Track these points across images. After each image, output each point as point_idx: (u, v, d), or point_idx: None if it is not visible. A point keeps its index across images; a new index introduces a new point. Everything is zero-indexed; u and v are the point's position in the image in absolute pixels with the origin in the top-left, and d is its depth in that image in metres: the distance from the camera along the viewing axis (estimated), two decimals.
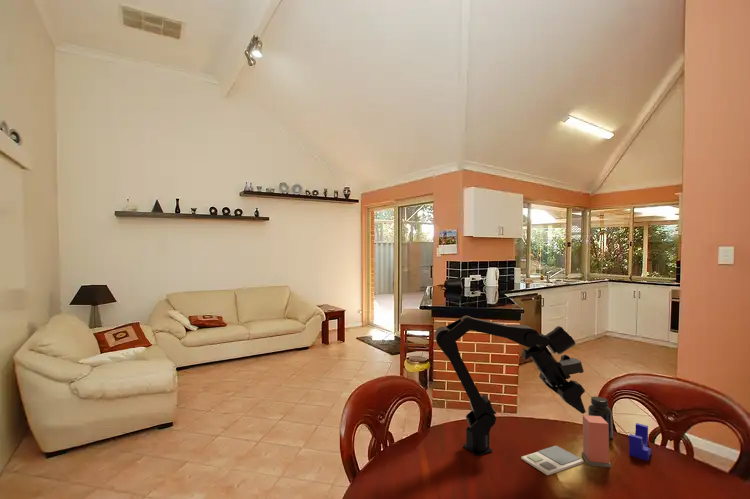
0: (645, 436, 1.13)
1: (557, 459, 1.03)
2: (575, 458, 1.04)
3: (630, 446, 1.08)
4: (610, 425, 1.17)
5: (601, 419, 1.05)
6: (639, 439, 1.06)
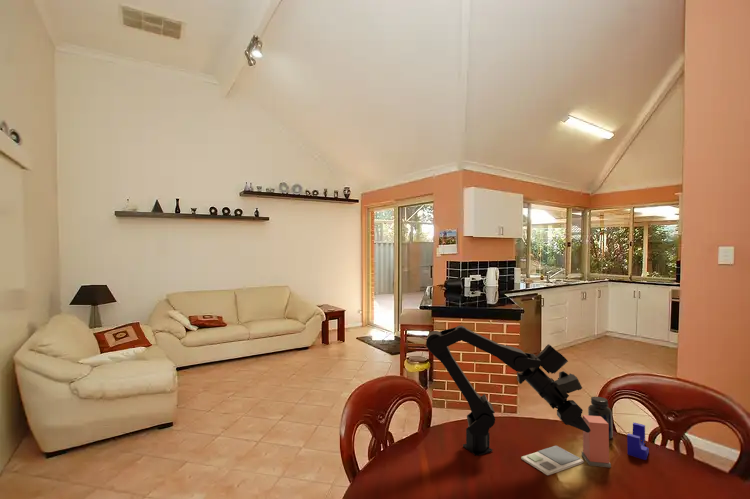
0: (642, 435, 1.13)
1: (557, 459, 1.03)
2: (575, 458, 1.04)
3: (628, 446, 1.08)
4: (610, 425, 1.17)
5: (601, 419, 1.05)
6: (637, 439, 1.07)
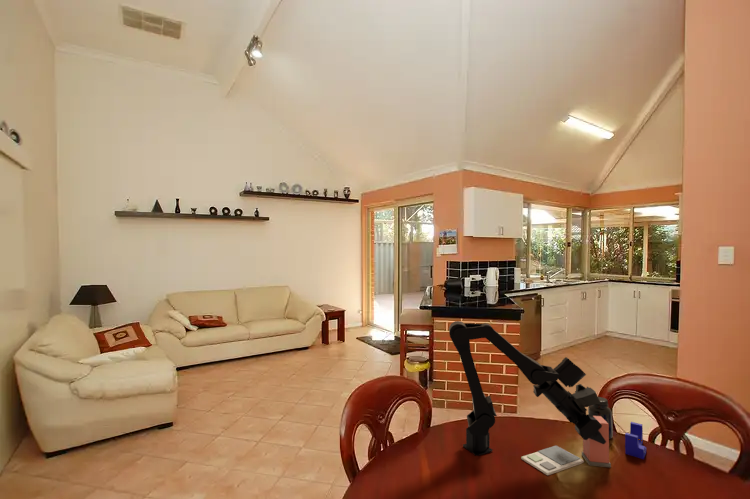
0: (640, 434, 1.14)
1: (557, 459, 1.03)
2: (575, 458, 1.04)
3: (626, 445, 1.08)
4: (610, 425, 1.17)
5: (601, 419, 1.05)
6: (635, 438, 1.07)
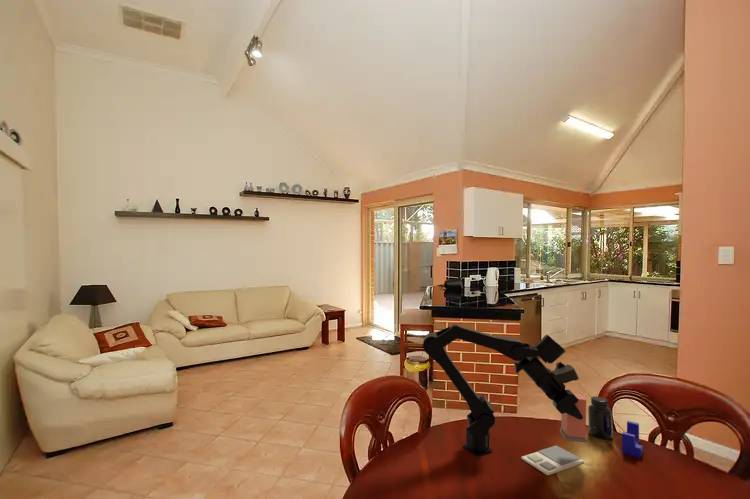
0: (637, 433, 1.15)
1: (557, 459, 1.03)
2: (575, 458, 1.04)
3: (623, 444, 1.09)
4: (610, 425, 1.17)
5: (579, 396, 1.06)
6: (632, 437, 1.08)
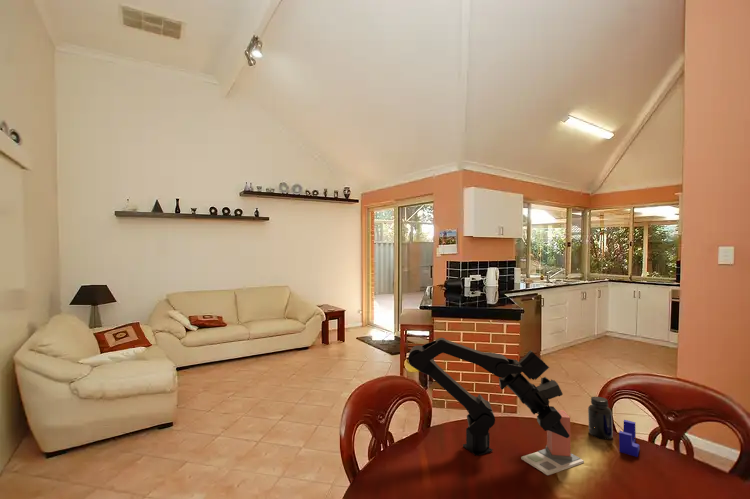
0: (633, 432, 1.15)
1: (557, 459, 1.03)
2: (575, 458, 1.04)
3: (620, 443, 1.09)
4: (610, 425, 1.17)
5: (564, 413, 1.07)
6: (629, 436, 1.08)
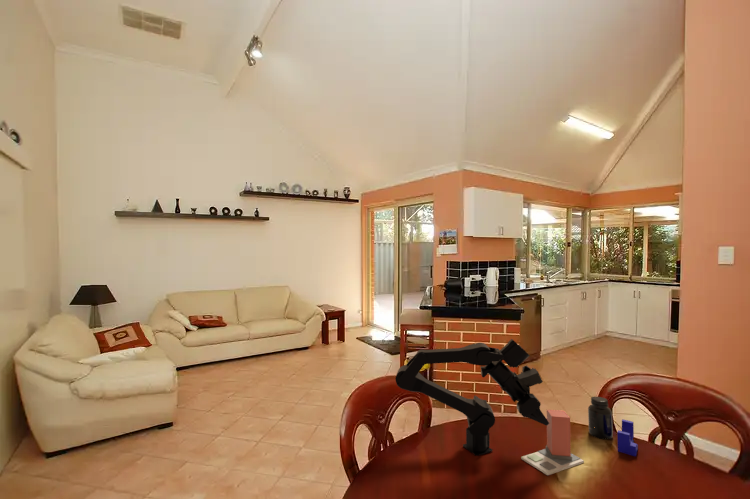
0: (631, 432, 1.16)
1: (557, 459, 1.03)
2: (575, 458, 1.04)
3: (618, 442, 1.10)
4: (610, 425, 1.17)
5: (564, 413, 1.07)
6: (627, 435, 1.08)
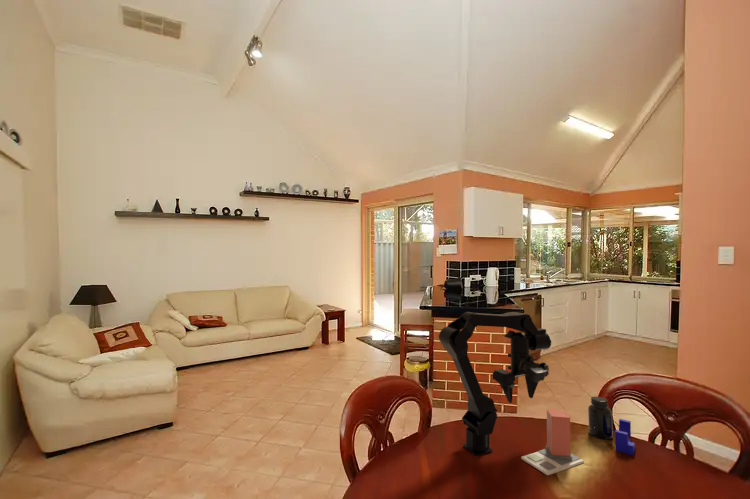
0: (628, 431, 1.16)
1: (557, 459, 1.03)
2: (575, 458, 1.04)
3: (616, 442, 1.10)
4: (610, 425, 1.17)
5: (564, 413, 1.07)
6: (625, 435, 1.09)
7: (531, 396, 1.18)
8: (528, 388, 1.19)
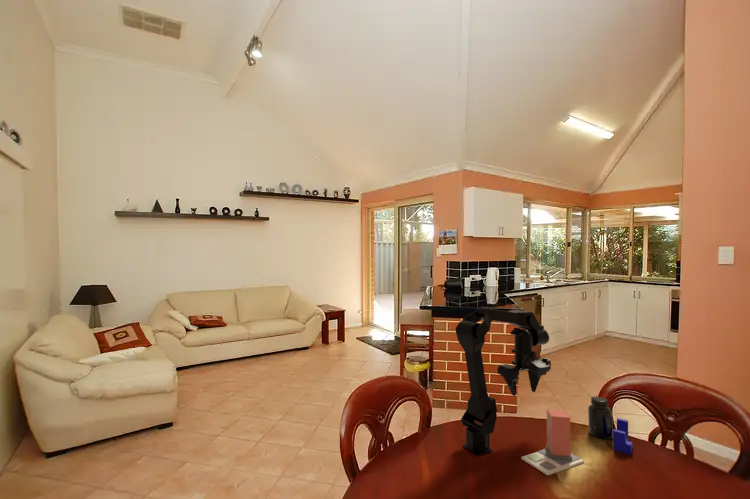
0: (626, 430, 1.17)
1: (557, 459, 1.03)
2: (575, 458, 1.04)
3: (614, 441, 1.11)
4: (610, 425, 1.17)
5: (564, 413, 1.07)
6: (623, 434, 1.09)
7: (534, 390, 1.24)
8: (531, 382, 1.25)
